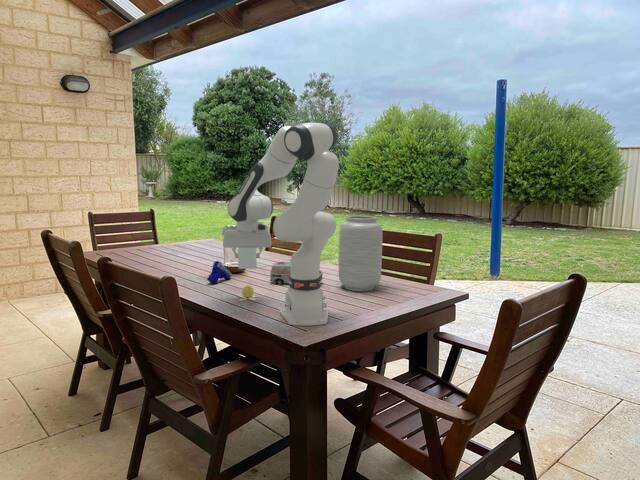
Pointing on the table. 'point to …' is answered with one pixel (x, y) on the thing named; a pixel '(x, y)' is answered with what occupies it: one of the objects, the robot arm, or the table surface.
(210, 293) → the table surface
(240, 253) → the grey block
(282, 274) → the toy car
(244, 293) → the ball
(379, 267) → the vase
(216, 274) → the toy gun
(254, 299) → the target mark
